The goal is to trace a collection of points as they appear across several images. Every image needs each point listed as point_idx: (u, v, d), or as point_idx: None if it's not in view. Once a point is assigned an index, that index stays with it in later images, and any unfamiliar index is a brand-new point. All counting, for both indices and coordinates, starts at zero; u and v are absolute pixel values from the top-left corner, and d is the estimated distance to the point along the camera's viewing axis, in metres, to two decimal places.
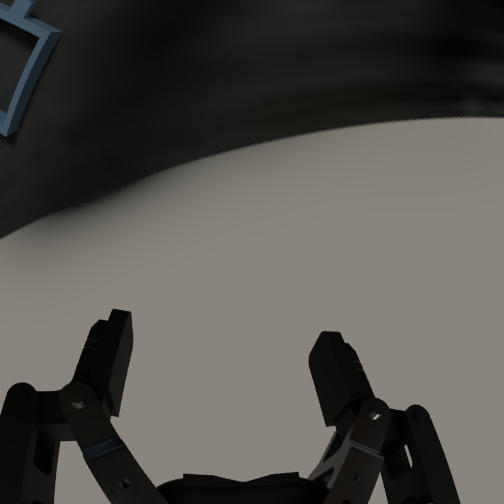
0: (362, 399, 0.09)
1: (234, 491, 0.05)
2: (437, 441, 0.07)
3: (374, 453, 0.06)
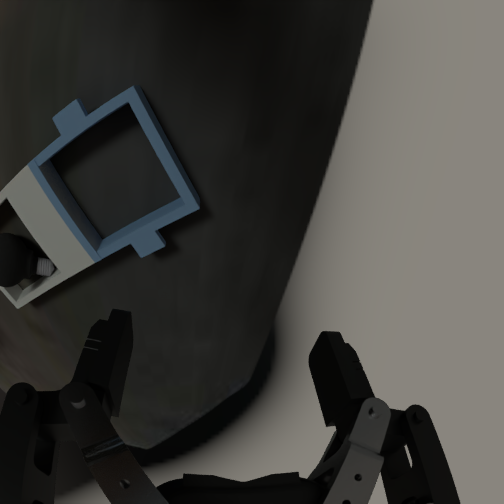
0: (362, 399, 0.09)
1: (234, 491, 0.05)
2: (437, 441, 0.07)
3: (374, 453, 0.06)
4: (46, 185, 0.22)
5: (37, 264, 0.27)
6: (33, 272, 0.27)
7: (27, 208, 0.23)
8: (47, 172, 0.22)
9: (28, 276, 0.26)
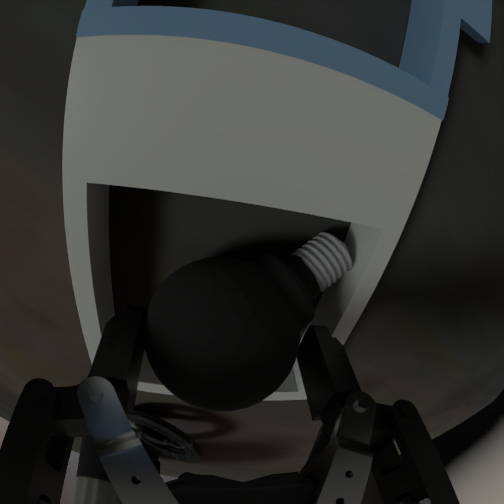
0: (347, 393, 0.09)
1: (234, 491, 0.05)
2: (426, 435, 0.07)
3: (363, 448, 0.06)
4: (171, 17, 0.06)
5: (307, 267, 0.12)
6: (313, 294, 0.12)
7: (166, 135, 0.08)
8: None
9: (311, 313, 0.11)
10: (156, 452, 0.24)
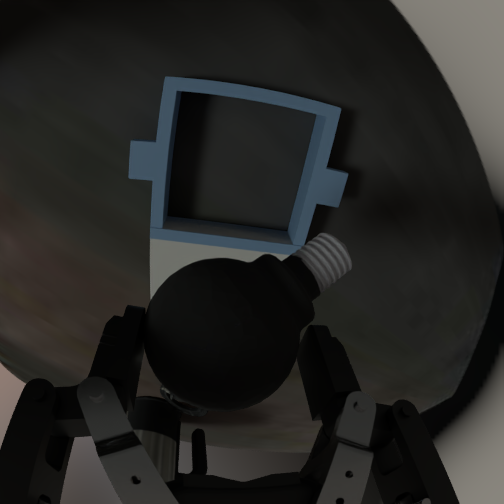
0: (347, 393, 0.09)
1: (234, 491, 0.05)
2: (426, 435, 0.07)
3: (363, 448, 0.06)
4: (186, 236, 0.23)
5: (307, 267, 0.12)
6: (312, 294, 0.12)
7: None
8: (176, 225, 0.24)
9: (311, 314, 0.11)
10: (178, 414, 0.42)
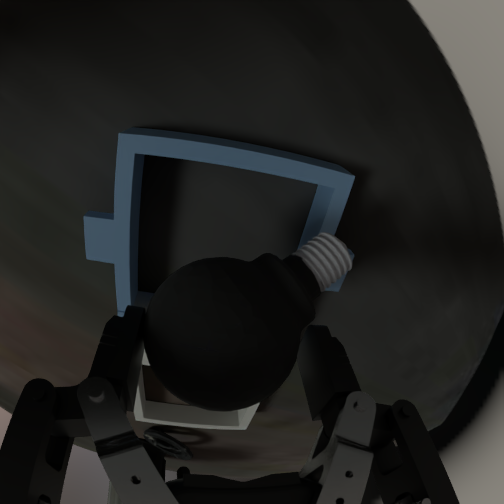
0: (347, 393, 0.09)
1: (234, 491, 0.05)
2: (426, 435, 0.07)
3: (363, 448, 0.06)
4: None
5: (307, 267, 0.12)
6: (313, 294, 0.12)
7: None
8: (147, 307, 0.20)
9: (311, 313, 0.11)
10: (163, 453, 0.37)
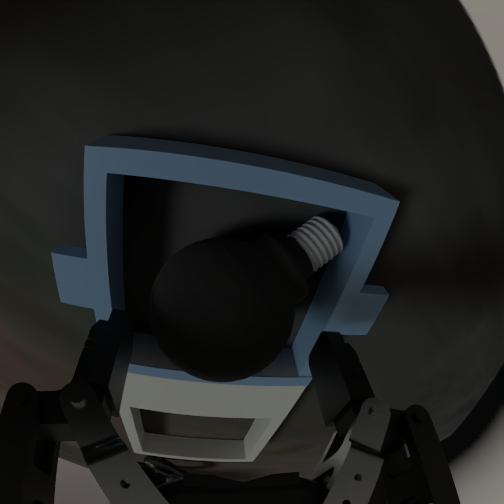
0: (362, 399, 0.09)
1: (234, 491, 0.05)
2: (437, 441, 0.07)
3: (374, 453, 0.06)
4: (153, 370, 0.15)
5: (300, 246, 0.13)
6: (306, 272, 0.13)
7: (163, 400, 0.18)
8: (138, 352, 0.16)
9: (305, 289, 0.12)
10: (165, 476, 0.33)
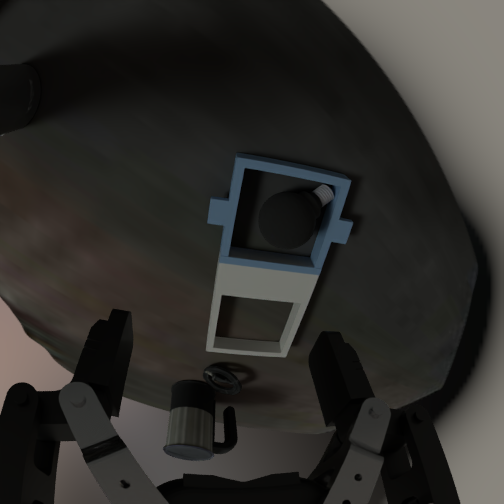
0: (362, 399, 0.09)
1: (234, 491, 0.05)
2: (437, 441, 0.07)
3: (374, 453, 0.06)
4: (244, 261, 0.36)
5: (316, 195, 0.32)
6: (319, 204, 0.32)
7: (244, 286, 0.38)
8: (236, 254, 0.36)
9: (319, 210, 0.32)
10: (214, 394, 0.54)
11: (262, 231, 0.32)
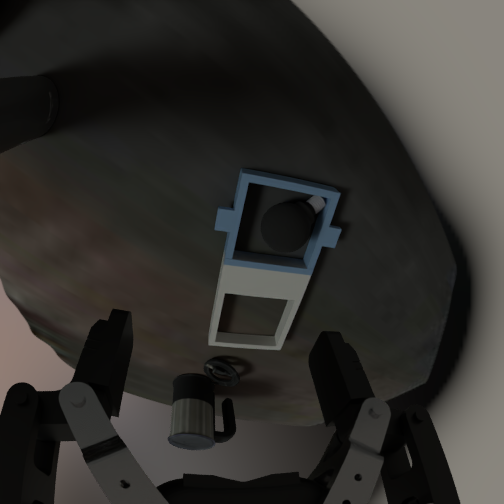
0: (362, 399, 0.09)
1: (234, 491, 0.05)
2: (437, 441, 0.07)
3: (374, 453, 0.06)
4: (246, 263, 0.40)
5: (310, 204, 0.37)
6: (313, 212, 0.37)
7: (245, 285, 0.42)
8: (239, 256, 0.41)
9: (313, 217, 0.37)
10: (213, 387, 0.58)
11: (264, 238, 0.37)
